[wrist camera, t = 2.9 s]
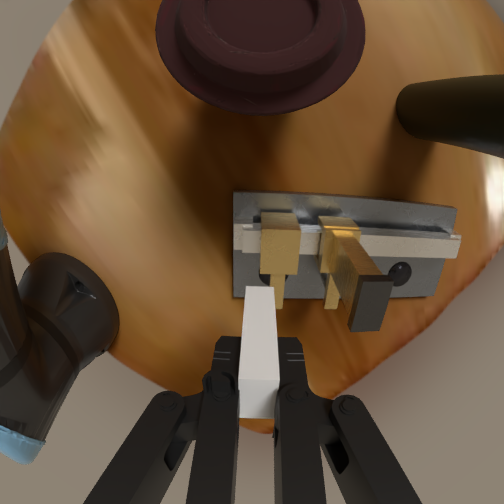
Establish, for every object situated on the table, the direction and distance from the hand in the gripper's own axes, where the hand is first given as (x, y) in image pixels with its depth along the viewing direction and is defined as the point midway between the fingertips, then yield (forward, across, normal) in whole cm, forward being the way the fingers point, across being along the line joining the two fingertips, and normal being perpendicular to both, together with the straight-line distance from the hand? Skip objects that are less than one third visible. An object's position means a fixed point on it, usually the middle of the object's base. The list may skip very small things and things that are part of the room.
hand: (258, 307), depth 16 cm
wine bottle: (+14, +16, +13) cm, 24 cm away
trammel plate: (+13, +10, -2) cm, 16 cm away
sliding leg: (+12, +7, -2) cm, 14 cm away
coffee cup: (+13, 0, +15) cm, 20 cm away
